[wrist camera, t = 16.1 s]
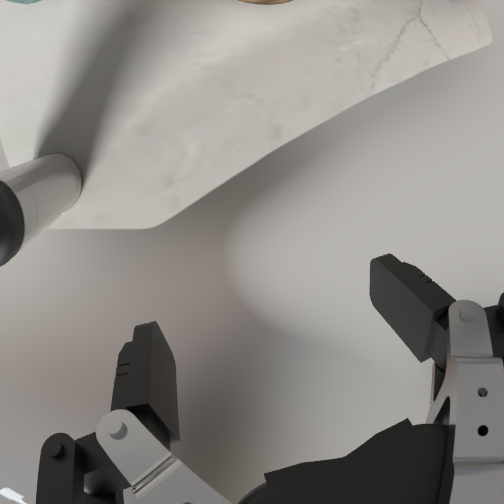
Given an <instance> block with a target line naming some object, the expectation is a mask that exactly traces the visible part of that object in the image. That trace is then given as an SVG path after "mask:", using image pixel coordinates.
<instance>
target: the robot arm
mask: <svg viewBox="0 0 504 504" xmlns="http://www.w3.org/2000/svg"><path fill="white" fill-rule="evenodd" d="M81 188H82V178H81V174H80V171H79V169H78V167H77V165H76V164H75V162H74V161H73V160H72V159H71V158H69V157H68V156H66V155H63V154H59V153H54V154H50V155H47V156H44V157H41V158H37V159H34V160H31V161H29V162H26V163H23V164H20V165H17V166H15V167H12V168H9V169H7V170H4V171H2V172H0V266H2V265H4V264H6V263H7V262H8V261H9V260H10V259H11V258H13V257H14V256H15V255H16V254H17V253H18V252H19V251H20V250H21V249H22V248H23V247H24V246H25V245H27V243H29V242H30V241H31V240H32V239H33V238H34V237H36V236H37V235H38V234H39V233H40V232H41V231H43V230H44V229H45V228H46V227H47V226H49V225H50V224H51V223H52V222H53V221H55V220H56V219H57V218H58V217H60V216H61V215H62V214H63V213H65V212H66V211H67V210H68V209H70V208H71V207H72V206H73V205H74V204H75V203H76V202H77V200H78V198H79V196H80V193H81ZM370 298H371V301H372V304H373V306H374V307H375V309H376V310H377V311H378V312H379V313H380V314H381V315H382V317H383V318H384V319H385V320H386V321H387V323H388V324H389V325H390V326H391V327H392V329H393V330H394V331H395V332H396V333H397V335H398V336H399V337H400V338H401V339H402V341H403V342H404V343H405V344H406V345H407V347H408V348H409V349H410V350H411V351H412V353H413V354H414V355H415V356H416V358H417V359H418V360H419V361H420V362H423V361H425V360H427V359H429V358H432V359H433V360H434V363H433V368H432V385H431V397H430V407H429V412H428V416H427V419H426V423H425V424H419V425H414V426H413V425H412V424H411V422H410V421H409V419H408V418H407V419H405V420H404V421H402V422H400V423H398V424H396V425H394V426H392V427H390V428H387V429H385V430H384V431H381V432H379V433H377V434H375V435H374V436H373V437H372V438H370V439H369V440H368V441H366V442H365V443H364V444H363V445H361V446H360V447H358V448H357V449H355V450H354V451H353V452H351V453H350V454H348V455H347V456H345V457H342V458H337V459H330V460H322V461H315V462H305V463H300V464H296V465H293V466H290V467H286V468H283V469H280V470H276V471H272V472H269V473H265V474H264V476H265V479H266V482H265V483H263V484H261V485H259V486H258V487H256V488H255V489H253V490H251V491H250V492H249V493H248V494H246V495H245V496H244V497H243V498H242V499H241V500H240V501H239V502H238V503H237V504H504V293H502V295H501V296H500V300H499V303H498V305H495V306H490V307H486V308H482V307H481V306H480V305H479V304H477V303H475V302H473V301H469V300H459V301H456V300H455V299H454V298H453V297H452V296H450V295H449V294H448V293H447V292H446V291H445V290H443V289H442V288H441V287H440V286H439V285H438V284H437V283H435V282H434V281H432V279H431V278H429V277H428V276H427V275H426V276H425V274H424V273H423V272H422V271H421V270H420V269H418V268H417V267H416V266H413V265H411V264H408V263H405V262H403V263H402V262H401V261H399V260H398V259H397V258H396V257H395V256H393V255H392V254H386V255H383V256H380V257H377V258H374V259H372V260H371V263H370ZM178 442H180V434H179V420H178V405H177V385H176V365H175V360H174V357H173V354H172V351H171V349H170V347H169V345H168V343H167V341H166V339H165V338H164V335H163V333H162V331H161V329H160V327H159V325H158V324H157V322H156V321H153V322H150V323H145V324H141V325H137V326H135V328H134V334H133V341H132V342H127V343H125V345H124V347H123V348H122V350H121V351H120V353H119V356H118V362H117V368H116V377H115V382H114V389H113V396H112V404H111V411H110V412H109V413H108V414H106V415H105V416H103V417H102V419H101V420H100V421H99V423H98V425H97V428H96V432H94V433H92V434H89V435H87V436H84V437H82V438H79V439H77V440H74V439H72V438H71V437H70V436H69V435H68V434H65V433H56V434H54V435H52V436H50V437H49V438H48V439H47V440H46V441H45V443H44V444H43V446H42V450H41V455H40V463H39V472H38V481H37V493H36V504H124V498H123V489H126V488H129V487H131V486H132V487H133V489H132V492H133V494H134V495H135V497H136V498H137V499H138V500H139V501H140V502H141V504H232V503H231V502H229V501H228V500H227V499H225V498H224V497H223V496H221V495H220V494H219V493H217V492H216V491H215V490H214V489H212V488H211V487H210V486H209V485H207V484H206V483H205V482H204V481H203V480H201V479H200V478H199V477H198V476H197V475H196V474H194V473H193V472H192V471H191V470H190V469H189V468H187V467H186V466H185V465H184V464H183V463H182V462H181V461H180V460H179V459H177V458H176V457H175V456H174V455H173V454H171V453H170V444H171V443H178Z"/></svg>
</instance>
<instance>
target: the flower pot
mask: <svg viewBox="0 0 504 504" xmlns="http://www.w3.org/2000/svg"><path fill="white" fill-rule="evenodd" d="M6 1H11V2H16V3H21V4H30V3H35V2H38V1H41V0H6Z"/></svg>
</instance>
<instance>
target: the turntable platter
mask: <svg viewBox="0 0 504 504" xmlns="http://www.w3.org/2000/svg"><path fill="white" fill-rule="evenodd" d="M239 1H243V2H247V3H253V4H264V5H268V4H280V3H285V2H289V1H292V0H239Z"/></svg>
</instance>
